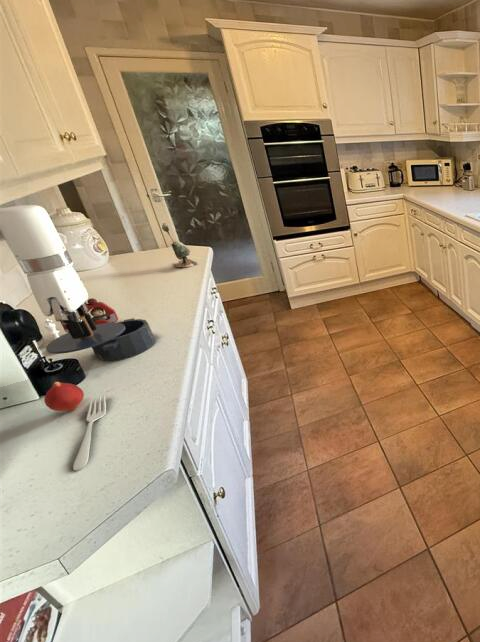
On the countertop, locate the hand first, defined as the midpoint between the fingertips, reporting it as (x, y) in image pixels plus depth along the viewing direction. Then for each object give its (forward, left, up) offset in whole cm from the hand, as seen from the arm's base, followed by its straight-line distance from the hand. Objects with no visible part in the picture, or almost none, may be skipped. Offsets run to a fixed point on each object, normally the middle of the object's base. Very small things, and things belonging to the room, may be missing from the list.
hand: (85, 333), depth 94 cm
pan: (-1, +18, -14) cm, 23 cm away
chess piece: (-18, +28, -14) cm, 36 cm away
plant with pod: (0, +98, -14) cm, 99 cm away
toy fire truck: (-14, +38, -14) cm, 43 cm away
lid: (0, 0, -1) cm, 1 cm away
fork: (+3, -22, -14) cm, 26 cm away
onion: (-4, -10, -14) cm, 18 cm away
